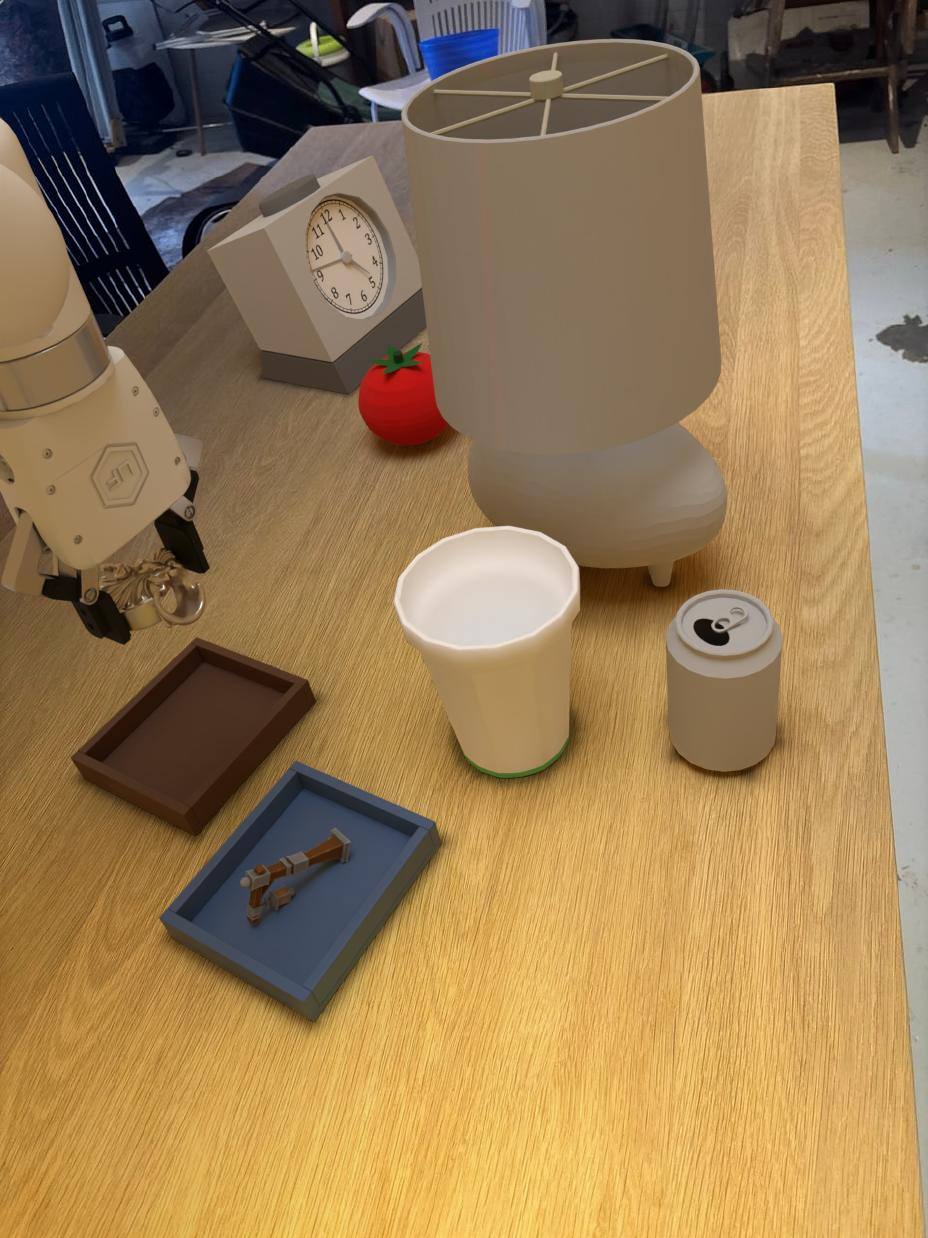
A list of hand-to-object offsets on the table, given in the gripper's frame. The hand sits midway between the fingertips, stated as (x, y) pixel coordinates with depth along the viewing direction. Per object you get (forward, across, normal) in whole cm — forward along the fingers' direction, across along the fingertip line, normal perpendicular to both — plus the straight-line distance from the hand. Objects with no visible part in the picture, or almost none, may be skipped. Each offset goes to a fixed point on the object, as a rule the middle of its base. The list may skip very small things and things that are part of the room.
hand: (153, 599), depth 68 cm
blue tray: (+18, -6, -13) cm, 22 cm away
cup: (+18, +12, -18) cm, 28 cm away
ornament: (+1, 0, 0) cm, 1 cm away
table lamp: (+18, +32, -15) cm, 40 cm away
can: (+18, +18, -32) cm, 41 cm away
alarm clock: (+17, +59, +34) cm, 70 cm away
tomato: (+18, +44, +13) cm, 49 cm away
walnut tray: (+18, +1, +4) cm, 18 cm away
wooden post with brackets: (+17, -6, -13) cm, 22 cm away
